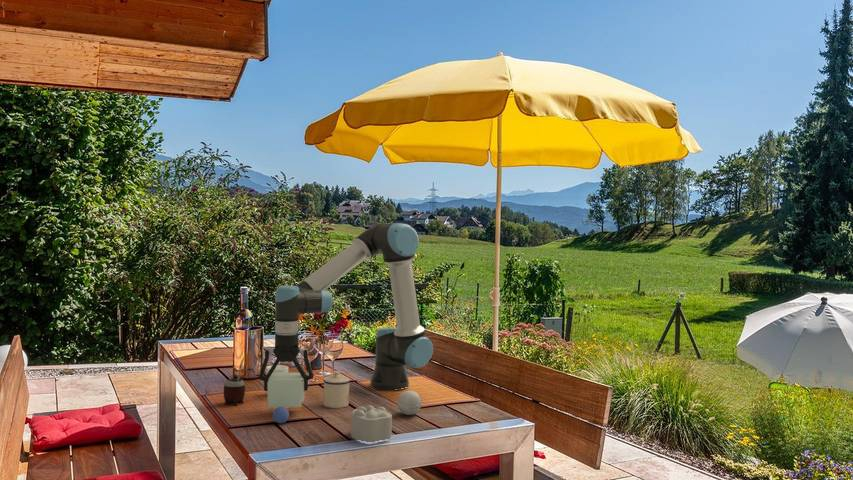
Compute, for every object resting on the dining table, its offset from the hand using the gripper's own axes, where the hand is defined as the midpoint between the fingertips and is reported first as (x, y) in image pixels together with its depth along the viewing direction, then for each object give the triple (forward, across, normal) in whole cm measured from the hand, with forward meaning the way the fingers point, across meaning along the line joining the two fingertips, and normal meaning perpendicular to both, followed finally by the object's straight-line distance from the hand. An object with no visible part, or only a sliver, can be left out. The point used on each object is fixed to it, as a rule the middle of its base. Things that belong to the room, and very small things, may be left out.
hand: (285, 400), depth 216 cm
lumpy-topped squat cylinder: (+5, +26, -24) cm, 36 cm away
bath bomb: (+5, +40, -1) cm, 41 cm away
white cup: (+5, -6, +25) cm, 26 cm away
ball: (+2, -1, -11) cm, 11 cm away
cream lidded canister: (+5, +16, +12) cm, 20 cm away
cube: (+1, 0, 0) cm, 1 cm away
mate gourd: (+4, -18, +13) cm, 23 cm away
